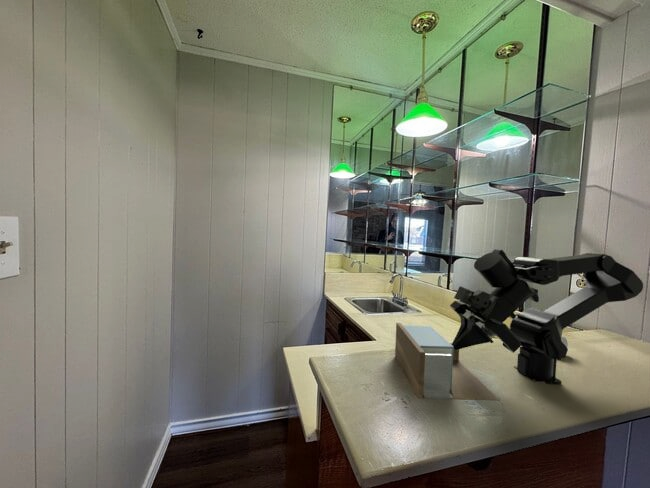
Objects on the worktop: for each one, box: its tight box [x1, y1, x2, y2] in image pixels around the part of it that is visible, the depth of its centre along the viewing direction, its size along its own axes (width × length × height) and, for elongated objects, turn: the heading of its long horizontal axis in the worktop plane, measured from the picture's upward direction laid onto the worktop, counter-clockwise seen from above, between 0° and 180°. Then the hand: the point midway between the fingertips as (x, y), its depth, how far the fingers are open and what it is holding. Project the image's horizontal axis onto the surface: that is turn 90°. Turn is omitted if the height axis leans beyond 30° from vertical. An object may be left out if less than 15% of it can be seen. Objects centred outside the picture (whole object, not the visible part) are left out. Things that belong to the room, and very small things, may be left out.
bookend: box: [423, 353, 454, 400], centre depth 52 cm, size 6×2×8 cm, turn 90°
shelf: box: [394, 322, 501, 401], centre depth 60 cm, size 16×17×10 cm
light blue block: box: [402, 324, 454, 390], centre depth 60 cm, size 7×12×9 cm, turn 0°
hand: (453, 347), depth 60 cm, fingers closed
